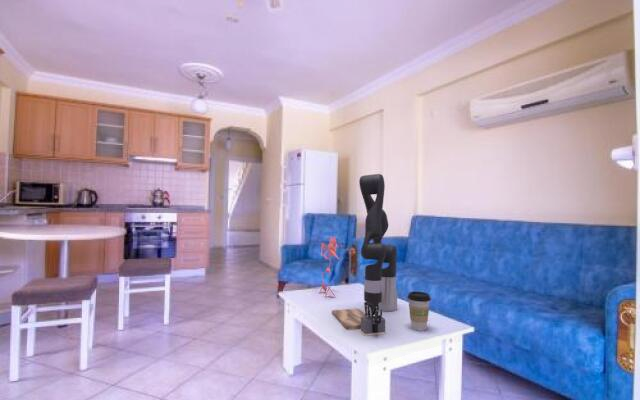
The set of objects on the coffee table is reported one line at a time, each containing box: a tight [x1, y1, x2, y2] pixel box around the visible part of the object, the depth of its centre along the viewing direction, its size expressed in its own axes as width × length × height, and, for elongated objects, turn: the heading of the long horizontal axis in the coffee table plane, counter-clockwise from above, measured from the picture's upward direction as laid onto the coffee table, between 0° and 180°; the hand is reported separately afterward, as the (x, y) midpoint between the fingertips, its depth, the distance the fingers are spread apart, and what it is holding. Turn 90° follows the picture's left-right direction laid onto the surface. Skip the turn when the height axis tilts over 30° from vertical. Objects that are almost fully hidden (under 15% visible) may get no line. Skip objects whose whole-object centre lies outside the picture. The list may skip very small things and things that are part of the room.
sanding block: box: [359, 316, 387, 336], centre depth 139 cm, size 10×5×6 cm, turn 104°
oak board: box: [331, 308, 367, 331], centre depth 154 cm, size 14×22×2 cm, turn 14°
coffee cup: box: [407, 291, 432, 332], centre depth 145 cm, size 10×10×15 cm
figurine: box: [318, 236, 340, 298], centre depth 198 cm, size 15×26×35 cm, turn 22°
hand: (372, 330), depth 139 cm, fingers closed on sanding block, 4 cm apart
